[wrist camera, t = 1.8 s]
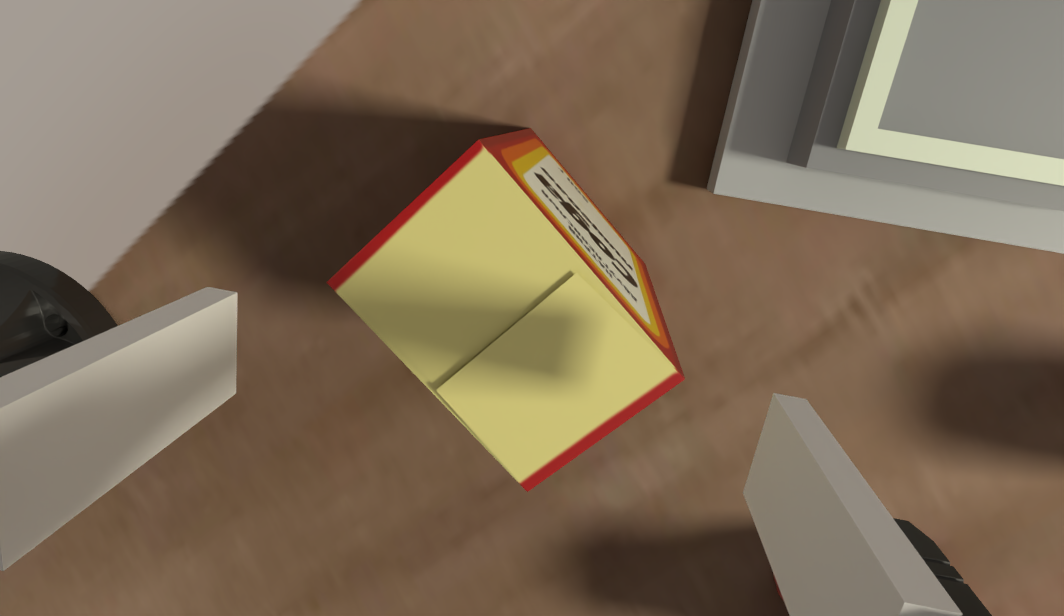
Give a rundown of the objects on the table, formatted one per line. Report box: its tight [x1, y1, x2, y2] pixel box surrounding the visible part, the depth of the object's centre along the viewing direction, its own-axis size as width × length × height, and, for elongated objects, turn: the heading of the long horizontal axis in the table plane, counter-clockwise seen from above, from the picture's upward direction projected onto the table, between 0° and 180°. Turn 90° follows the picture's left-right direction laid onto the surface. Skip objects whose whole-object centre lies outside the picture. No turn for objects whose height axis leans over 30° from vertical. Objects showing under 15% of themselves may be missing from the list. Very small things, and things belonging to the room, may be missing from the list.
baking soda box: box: [327, 128, 685, 492], centre depth 27 cm, size 10×6×16 cm
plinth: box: [707, 0, 1064, 253], centre depth 26 cm, size 20×20×6 cm
